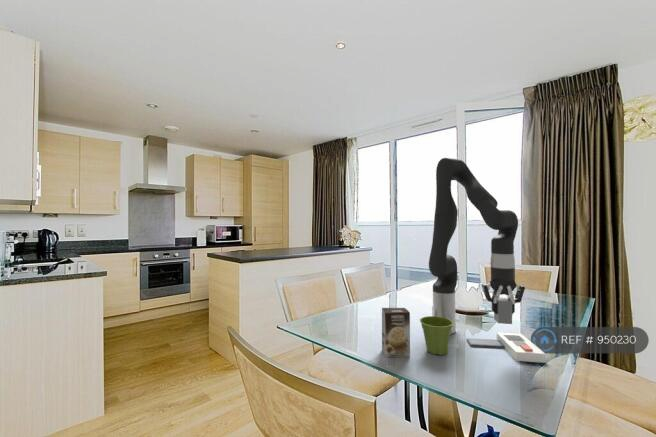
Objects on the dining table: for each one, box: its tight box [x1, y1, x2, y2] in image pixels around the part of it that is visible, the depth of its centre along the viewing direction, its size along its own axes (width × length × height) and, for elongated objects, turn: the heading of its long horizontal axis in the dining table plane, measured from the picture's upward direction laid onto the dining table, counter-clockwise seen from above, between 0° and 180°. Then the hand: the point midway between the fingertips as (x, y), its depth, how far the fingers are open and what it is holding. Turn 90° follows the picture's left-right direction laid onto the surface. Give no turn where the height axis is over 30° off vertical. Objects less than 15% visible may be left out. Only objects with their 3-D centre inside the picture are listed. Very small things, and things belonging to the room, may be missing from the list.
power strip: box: [496, 332, 546, 364], centre depth 111 cm, size 9×18×4 cm, turn 169°
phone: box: [466, 337, 505, 349], centre depth 117 cm, size 12×6×1 cm, turn 80°
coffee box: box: [381, 307, 411, 358], centre depth 110 cm, size 9×6×16 cm
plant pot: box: [419, 315, 453, 356], centre depth 112 cm, size 12×12×11 cm
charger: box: [493, 297, 513, 325], centre depth 107 cm, size 4×4×8 cm
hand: (503, 313), depth 107 cm, fingers closed on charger, 4 cm apart
